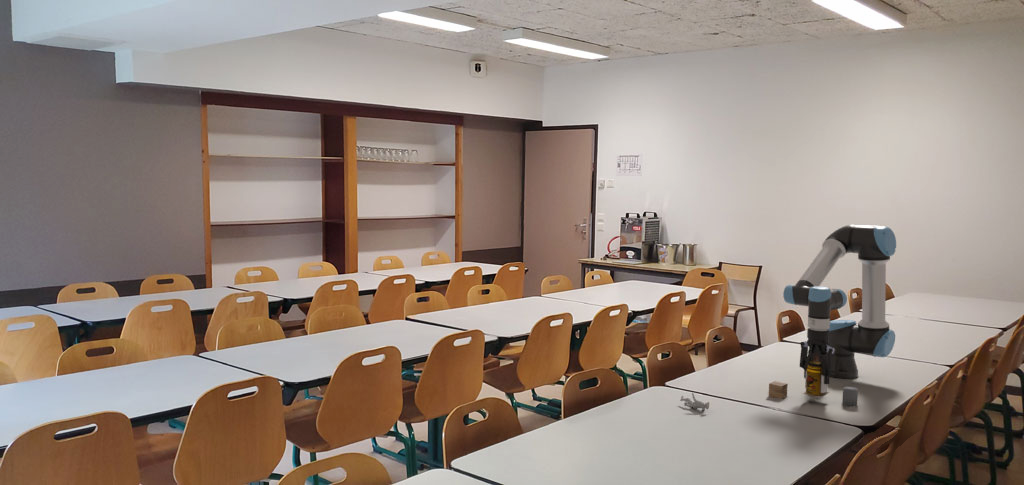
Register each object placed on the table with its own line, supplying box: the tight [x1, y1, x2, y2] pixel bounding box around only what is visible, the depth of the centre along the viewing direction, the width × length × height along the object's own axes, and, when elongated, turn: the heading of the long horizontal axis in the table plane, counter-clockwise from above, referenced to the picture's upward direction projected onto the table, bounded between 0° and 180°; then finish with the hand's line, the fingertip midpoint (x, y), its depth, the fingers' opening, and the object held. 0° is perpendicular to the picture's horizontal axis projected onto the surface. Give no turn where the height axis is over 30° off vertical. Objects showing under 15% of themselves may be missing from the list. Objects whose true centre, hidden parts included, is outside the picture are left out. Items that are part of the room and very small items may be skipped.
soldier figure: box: [680, 392, 710, 411], centre depth 263 cm, size 8×5×12 cm
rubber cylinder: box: [841, 386, 859, 408], centre depth 269 cm, size 5×5×6 cm
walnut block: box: [768, 380, 788, 400], centre depth 279 cm, size 5×5×5 cm
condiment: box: [802, 361, 830, 398], centre depth 271 cm, size 7×8×12 cm
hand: (816, 389), depth 272 cm, fingers closed on condiment, 6 cm apart
